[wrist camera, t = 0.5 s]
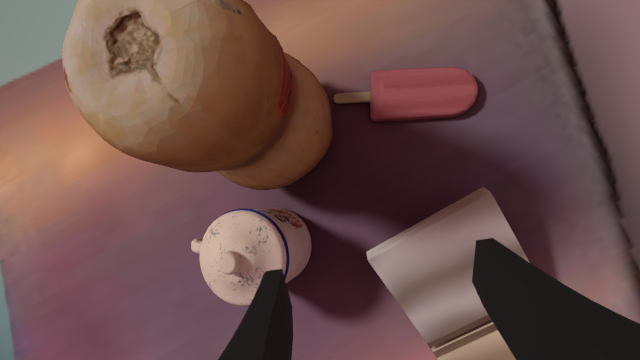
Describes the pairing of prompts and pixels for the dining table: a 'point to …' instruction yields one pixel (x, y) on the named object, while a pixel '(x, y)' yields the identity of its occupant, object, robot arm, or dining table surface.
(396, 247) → the beige flat square block
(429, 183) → the dining table surface
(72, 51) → the butternut squash
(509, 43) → the dining table surface
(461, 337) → the laid board
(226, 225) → the teacup with lid
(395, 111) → the popsicle
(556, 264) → the dining table surface
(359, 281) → the dining table surface
